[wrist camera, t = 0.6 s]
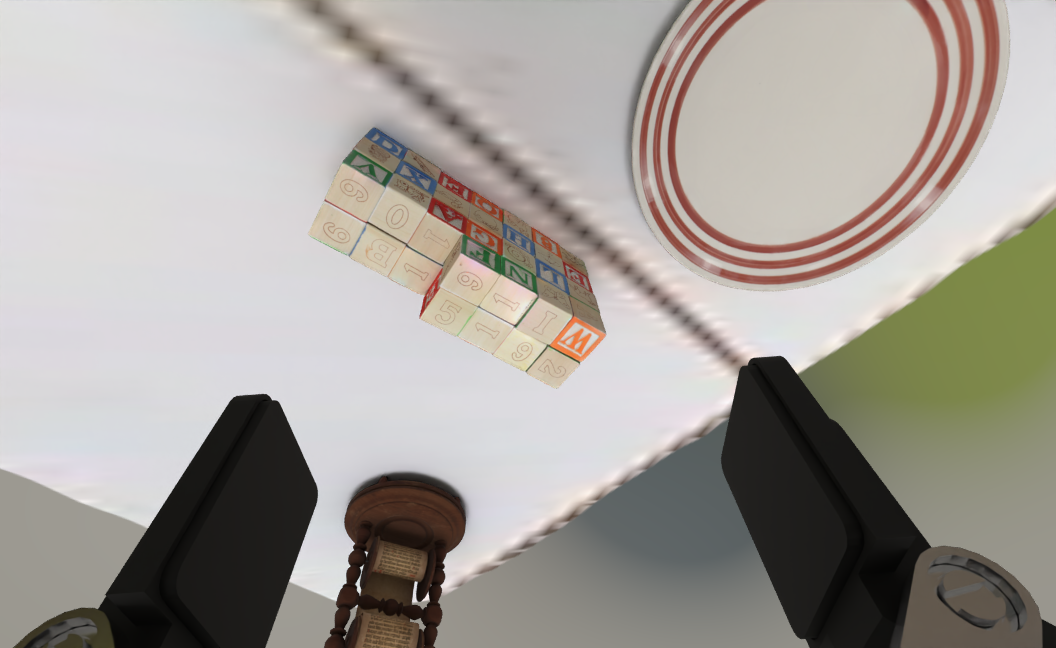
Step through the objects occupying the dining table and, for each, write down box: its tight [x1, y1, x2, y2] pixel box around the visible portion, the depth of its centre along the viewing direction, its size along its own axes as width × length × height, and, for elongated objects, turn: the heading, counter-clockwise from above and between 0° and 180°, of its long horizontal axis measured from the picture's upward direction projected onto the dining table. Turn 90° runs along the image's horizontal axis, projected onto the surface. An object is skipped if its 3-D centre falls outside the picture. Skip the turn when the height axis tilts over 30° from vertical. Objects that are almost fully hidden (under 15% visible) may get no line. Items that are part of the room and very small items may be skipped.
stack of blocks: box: [308, 128, 606, 389], centre depth 40 cm, size 21×6×12 cm, turn 55°
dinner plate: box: [631, 0, 1010, 291], centre depth 40 cm, size 27×27×3 cm
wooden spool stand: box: [324, 476, 466, 648], centre depth 58 cm, size 15×15×20 cm
